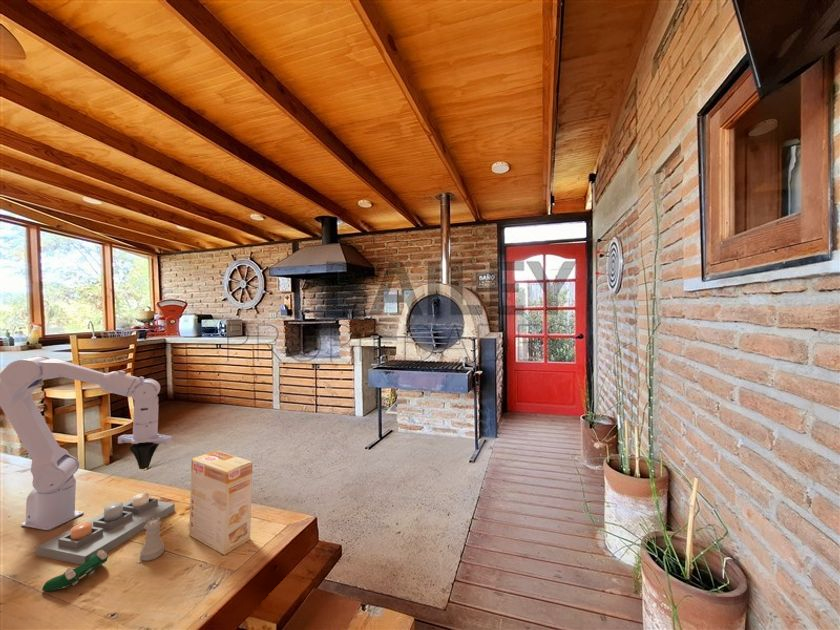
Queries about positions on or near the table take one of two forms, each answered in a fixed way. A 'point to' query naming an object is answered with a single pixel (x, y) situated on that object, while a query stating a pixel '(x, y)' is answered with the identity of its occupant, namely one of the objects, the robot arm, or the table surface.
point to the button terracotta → (81, 530)
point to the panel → (104, 533)
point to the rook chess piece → (152, 541)
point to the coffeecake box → (220, 500)
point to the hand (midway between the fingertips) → (144, 467)
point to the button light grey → (113, 512)
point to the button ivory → (140, 500)
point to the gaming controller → (76, 572)
